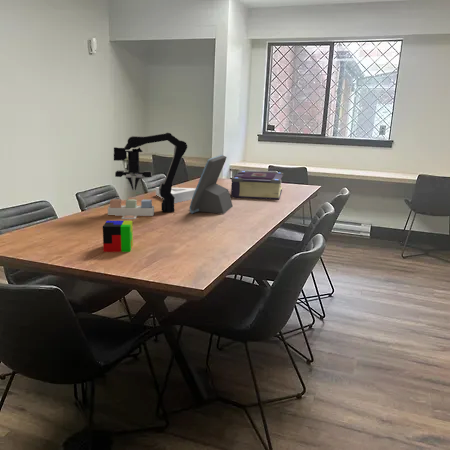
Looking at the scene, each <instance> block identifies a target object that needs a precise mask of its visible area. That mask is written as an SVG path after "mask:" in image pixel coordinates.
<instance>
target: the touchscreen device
mask: <svg viewBox="0 0 450 450" xmlns="http://www.w3.org/2000/svg"><path fill="white" fill-rule="evenodd" d="M227 159H228V158H227V156H225V155H223V154H220V155H216V156H214V157H211V158H208V159H207V161H206V163H205V165H204V168H203V170H202V173H201V175H200V178H199V180H198V183H197V185H196V187H195V188H196V190H195V192H194V195H193V198H192V200H190V205H189V213H190V214H194V213H197V212H198V213H199V212H203V213H212V214H213V213H214V214H220V215H224V214H226V213H227V212H229V210H230V209H232V208H233V202H232V199H231V198H232V197H231V193H230V191H229V189H228V188H227V187H224V186H222V185H220V184H219V183H217V182H218V179H219V177H220V174H221V172H222V170H223V167H224V165H225V163H226V160H227Z"/></svg>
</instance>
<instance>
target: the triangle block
mask: <svg viewBox="0 0 450 450" xmlns="http://www.w3.org/2000/svg"><path fill="white" fill-rule="evenodd" d="M159 187H160V186H155V196H156V195H157V196H159V197H161V195H160V194H159V189H158V188H159ZM195 190H196V187H194V188H193V187H172V189H171V194H172V195H173V196H174V197H175V199H174V204H177V203H178V202H179V203H182V201H183V202H186V201H191V199H192V198H193V195H194V192H195ZM157 196H156V197H157ZM159 197H158V198H159ZM160 199H162V197H161V198H160Z"/></svg>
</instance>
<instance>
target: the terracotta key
mask: <svg viewBox="0 0 450 450" xmlns="http://www.w3.org/2000/svg"><path fill="white" fill-rule="evenodd" d="M121 205H122V199H119V198H118V199H116V198H115V199H114V198H113V199H110V200H109V206H110V208H121Z"/></svg>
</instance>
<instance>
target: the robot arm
mask: <svg viewBox="0 0 450 450" xmlns="http://www.w3.org/2000/svg"><path fill="white" fill-rule="evenodd" d="M165 141H168V142H169V143H170V144H172V145H173V146H174V148H173V149H174V150H173V156H172V157H173V158H172V159H171V163H170V166H169V168H168V171H167V172H166V173H167V175H166V176H165V179H164V181H163V182H161V181H160V183H159V186H158V187H159V188H158V189H159V194H160V195H161V197H162V198H163V199H162V198H161V199H162V201H161V204H160V205H161V212H162V213H175V203H174V199H175V197H174V196H173V195H172V194H171V189H172V188H173V187H172V186H173V181H174V179H175V176H176V173H177V170H178V169H179V165H180V162H181V159H182V158H183V156H184V155H185V153H186V151H187V149H188V144H187V142H186V141H184V140H180V139H179V138H177V137H175V136H174V135H173V134H172V133H170V132H165V133H160V134H153V135H152V134H151V135H147V136H139V135H137V136H134V135H132V136H129V137H128V138H127V143H126V144H125V146H124V147H113V161H114V162H115V161H119V162H120V161H123V162H124V161H125V160H126V159H127V164H126V171H125V170H118V169H117V170H116V171H115V175H114V176H115V177H117V178H121V177H123V176H125V179H127V180H128V182H129V185H130V187H131V189H132V191H136V190H137V187H138V184H139V181H140V180H141V179H142V178H143V177H145V178H152V177H153V172H152V170H144V171H142V172H141V166H140V153H142V152H143V150H142V149H141V147H142V146H144V145H147V144H152V143H158V142H165ZM133 176H136V177H135V178H134V181H133Z"/></svg>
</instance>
